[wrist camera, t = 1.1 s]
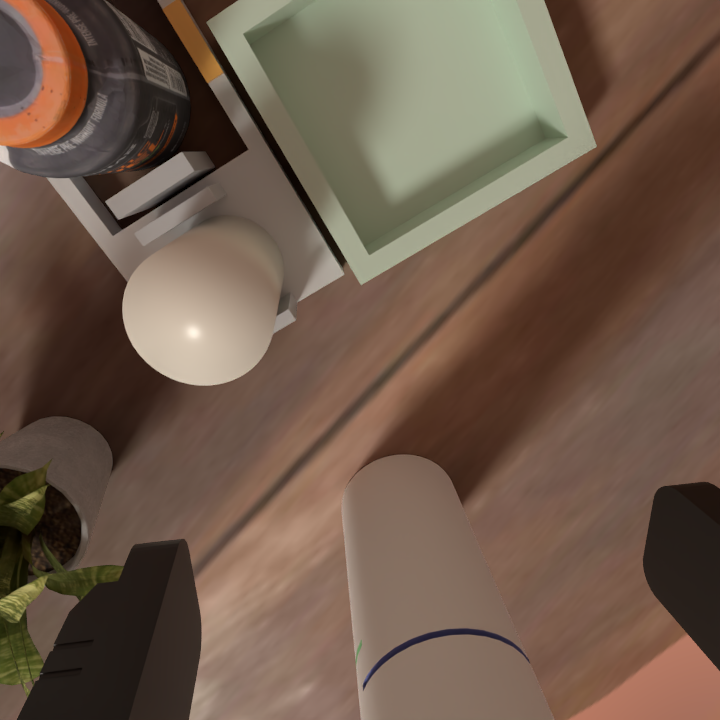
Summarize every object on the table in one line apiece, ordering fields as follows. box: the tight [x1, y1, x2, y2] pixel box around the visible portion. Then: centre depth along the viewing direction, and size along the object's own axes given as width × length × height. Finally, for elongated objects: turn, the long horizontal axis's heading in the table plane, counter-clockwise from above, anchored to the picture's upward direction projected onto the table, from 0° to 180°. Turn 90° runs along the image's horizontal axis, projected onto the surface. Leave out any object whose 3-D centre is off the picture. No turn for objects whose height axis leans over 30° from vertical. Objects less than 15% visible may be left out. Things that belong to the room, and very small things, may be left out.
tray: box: [206, 0, 597, 285], centre depth 23 cm, size 12×12×3 cm
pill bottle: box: [0, 0, 191, 178], centre depth 19 cm, size 6×6×11 cm
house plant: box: [0, 416, 124, 697], centre depth 23 cm, size 14×14×16 cm
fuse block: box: [46, 0, 344, 386], centre depth 19 cm, size 9×23×10 cm, turn 30°
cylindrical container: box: [342, 454, 554, 720], centre depth 22 cm, size 7×7×25 cm
